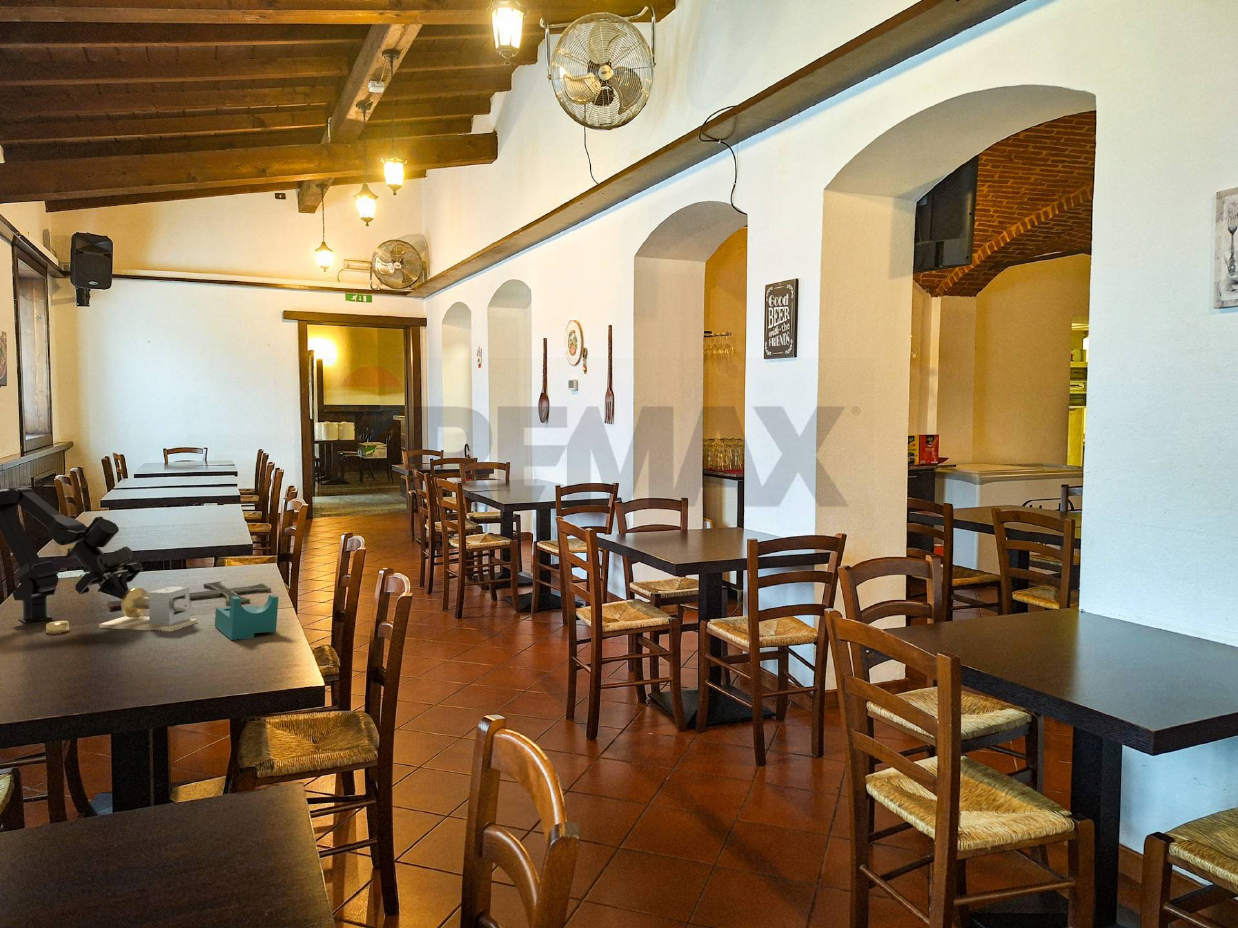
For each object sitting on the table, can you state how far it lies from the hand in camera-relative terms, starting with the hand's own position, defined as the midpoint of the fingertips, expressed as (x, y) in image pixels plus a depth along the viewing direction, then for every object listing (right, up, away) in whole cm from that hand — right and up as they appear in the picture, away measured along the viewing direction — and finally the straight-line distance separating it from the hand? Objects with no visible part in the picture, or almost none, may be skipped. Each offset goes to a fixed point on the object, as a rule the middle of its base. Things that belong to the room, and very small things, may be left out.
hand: (129, 600), depth 229 cm
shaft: (+9, -5, -1) cm, 10 cm away
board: (+6, -7, -1) cm, 9 cm away
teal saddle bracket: (+34, -7, -7) cm, 36 cm away
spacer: (-15, -7, -7) cm, 18 cm away
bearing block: (+12, -6, -2) cm, 14 cm away
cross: (0, -6, +33) cm, 33 cm away
